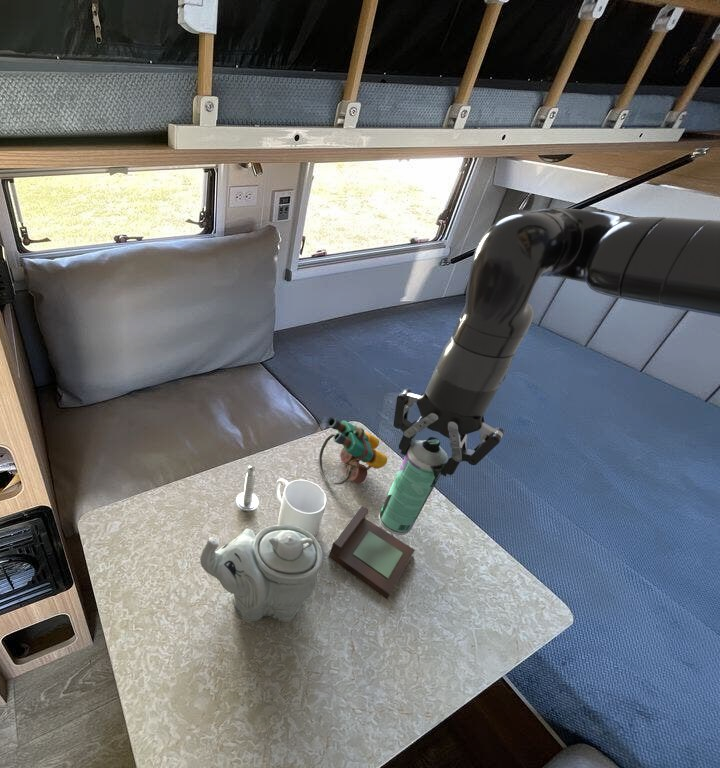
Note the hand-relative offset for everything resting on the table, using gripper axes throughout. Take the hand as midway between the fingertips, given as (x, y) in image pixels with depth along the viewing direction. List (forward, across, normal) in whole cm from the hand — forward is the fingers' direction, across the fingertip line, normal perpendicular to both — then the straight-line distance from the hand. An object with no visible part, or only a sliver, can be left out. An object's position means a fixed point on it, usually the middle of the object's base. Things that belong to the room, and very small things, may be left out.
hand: (424, 461), depth 63 cm
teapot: (+28, -13, -22) cm, 38 cm away
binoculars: (+28, -15, +17) cm, 36 cm away
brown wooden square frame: (+28, -1, 0) cm, 28 cm away
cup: (+28, -17, -4) cm, 33 cm away
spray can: (+16, 0, 0) cm, 16 cm away
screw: (+28, -26, -8) cm, 39 cm away
